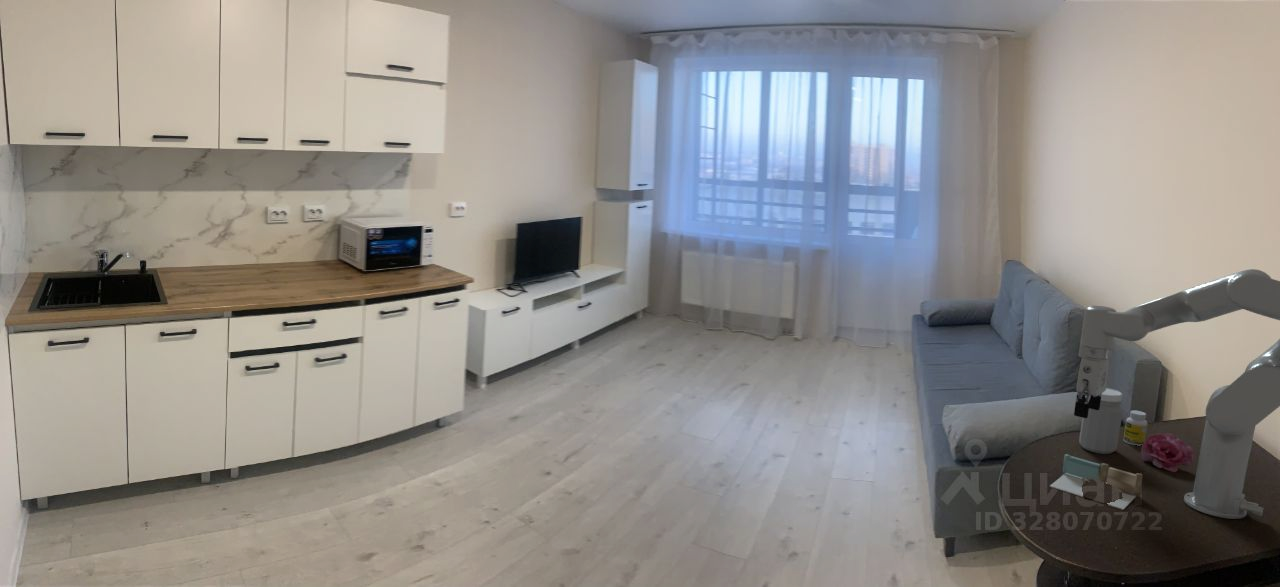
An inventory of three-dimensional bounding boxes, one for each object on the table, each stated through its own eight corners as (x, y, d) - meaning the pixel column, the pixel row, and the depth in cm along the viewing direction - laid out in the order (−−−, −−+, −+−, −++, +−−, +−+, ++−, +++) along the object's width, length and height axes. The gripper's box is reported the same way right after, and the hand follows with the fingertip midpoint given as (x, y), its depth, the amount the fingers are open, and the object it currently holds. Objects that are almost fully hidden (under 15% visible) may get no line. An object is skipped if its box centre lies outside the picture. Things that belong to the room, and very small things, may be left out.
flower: (1178, 485, 210) (1164, 458, 207) (1146, 473, 219) (1132, 447, 217) (1206, 459, 211) (1193, 432, 209) (1172, 448, 221) (1159, 422, 218)
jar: (1070, 444, 228) (1078, 387, 225) (1094, 440, 232) (1102, 384, 228) (1100, 456, 219) (1109, 397, 216) (1124, 452, 223) (1133, 394, 219)
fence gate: (1098, 480, 201) (1100, 463, 200) (1096, 482, 200) (1099, 465, 199) (1063, 470, 207) (1065, 453, 206) (1061, 471, 206) (1063, 455, 206)
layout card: (1140, 492, 197) (1140, 490, 197) (1123, 510, 187) (1123, 508, 187) (1069, 471, 209) (1069, 469, 209) (1049, 486, 199) (1050, 485, 199)
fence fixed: (1139, 496, 195) (1143, 474, 193) (1138, 497, 194) (1141, 476, 192) (1099, 483, 201) (1102, 462, 200) (1097, 485, 200) (1100, 464, 199)
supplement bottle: (1119, 440, 232) (1123, 410, 230) (1130, 438, 234) (1135, 408, 232) (1136, 447, 227) (1141, 416, 225) (1148, 444, 229) (1153, 414, 228)
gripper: (1100, 360, 194) (1091, 424, 197) (1120, 349, 205) (1112, 409, 209) (1068, 354, 199) (1060, 416, 203) (1090, 344, 211) (1082, 402, 214)
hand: (1086, 412), depth 206 cm, fingers open, 9 cm apart
